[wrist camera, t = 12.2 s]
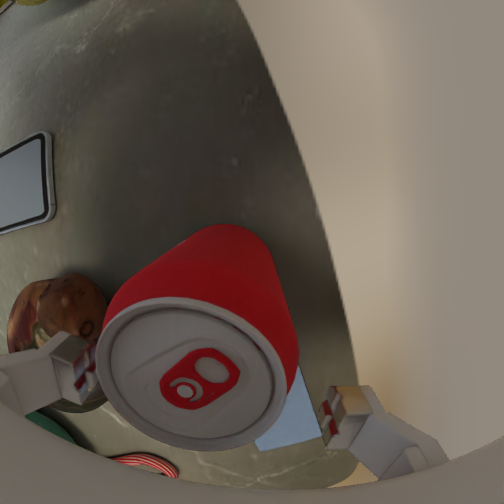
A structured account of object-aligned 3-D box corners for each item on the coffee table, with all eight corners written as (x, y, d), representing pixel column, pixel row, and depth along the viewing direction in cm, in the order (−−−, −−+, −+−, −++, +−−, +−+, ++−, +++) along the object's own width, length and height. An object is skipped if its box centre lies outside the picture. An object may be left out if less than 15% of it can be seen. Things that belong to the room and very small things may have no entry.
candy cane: (110, 491, 23) (113, 484, 24) (188, 484, 21) (189, 474, 23) (78, 467, 22) (81, 460, 23) (149, 456, 20) (152, 446, 22)
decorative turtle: (177, 285, 18) (136, 357, 10) (112, 399, 22) (83, 459, 14) (69, 209, 17) (-10, 236, 9) (35, 342, 20) (-9, 388, 12)
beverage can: (161, 269, 18) (50, 366, 6) (225, 202, 17) (167, 213, 5) (227, 331, 19) (200, 478, 7) (294, 272, 18) (355, 391, 6)
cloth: (208, 356, 19) (208, 359, 19) (288, 333, 19) (288, 336, 19) (260, 448, 22) (260, 451, 21) (321, 433, 21) (322, 435, 21)
